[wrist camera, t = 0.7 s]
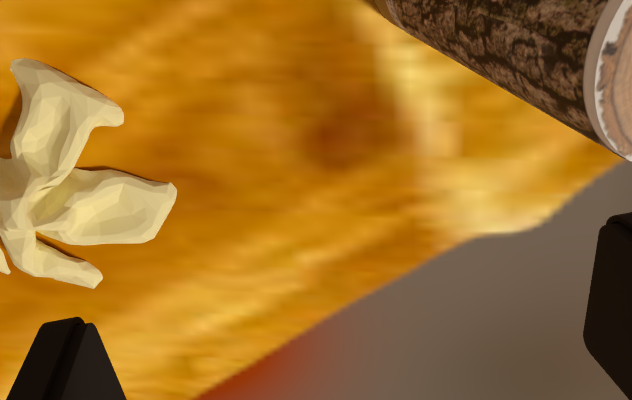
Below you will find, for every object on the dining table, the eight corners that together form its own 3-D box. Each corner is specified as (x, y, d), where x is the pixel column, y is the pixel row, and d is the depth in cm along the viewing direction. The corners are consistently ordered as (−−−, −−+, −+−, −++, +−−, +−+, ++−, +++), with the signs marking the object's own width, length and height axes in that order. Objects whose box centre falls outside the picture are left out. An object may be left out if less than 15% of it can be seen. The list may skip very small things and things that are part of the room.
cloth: (-183, 130, 35) (-258, 166, 30) (54, -2, 34) (20, 11, 28) (40, 345, 46) (15, 401, 40) (229, 251, 44) (229, 296, 39)
